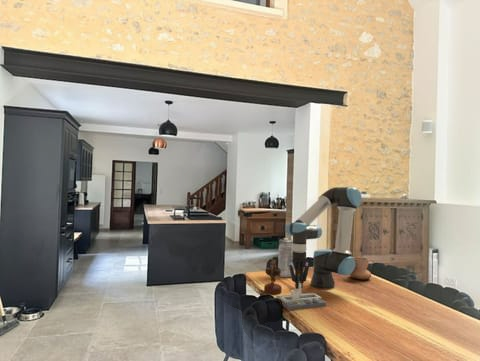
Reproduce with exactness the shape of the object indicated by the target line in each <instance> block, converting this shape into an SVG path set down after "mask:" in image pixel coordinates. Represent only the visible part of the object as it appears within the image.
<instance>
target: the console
mask: <svg viewBox="0 0 480 361" xmlns="http://www.w3.org/2000/svg"><path fill="white" fill-rule="evenodd" d="M276 298H277V299H280V300H281V301H282V303H283V305H282V306H283V307H284V308H285V309H287V310H288V311H296V310H305V309H311V308H312V309H313V308H321V307H326V306H327V301H326V300H323V299H322V297H321V296H320V295H318V294H316V293H315V292H314V293H313V292H304V293H301V295H299V299H291V294H286V295H285V294H284V295H276V296H275V299H276Z"/></svg>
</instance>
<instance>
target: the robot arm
mask: <svg viewBox="0 0 480 361" xmlns="http://www.w3.org/2000/svg"><path fill="white" fill-rule="evenodd" d="M362 199H363V198H362V194H361V191H360V190H359V189H358V188H357V187H351V186H348V187H347V186H346V187H344V186H342V187H339V186H337V187H331V188H330V189H328V190H326V191H324V192H323V193H321V195H320V196H319V197H318V198H317V200H316V201H315V202H314V203H313V204H312V205H311V206H310V207H308V209H307V210H305V212H304V213H302V214H301V215H300V217H298V218H297V219H296V220H295V221H294V222H288V223H287V224H286V226H285V233H286V234H287V235H289V236H292V241H293V248H292V250H293V252H292V258H293V260H292V263H291V264H288V267H289V268H290V273H291V277H290V278H291V281H292V282H293V283H295V284H294V286H295V290H297V291H299V295H301V294H302V289H303V286H304V283H305V282H306V281H307V279H308V273H309V269H310V266H311V263H309V262H308V260H307V252H306V251H307V240H316V239H320V238H322V236H323V235H322V234H323V230H322V227H321V226H320V225H315V224H314V225H311V224H312V223H313V222H314V221H315V220H316V219H317V218H318V217H320V215H321V214H323V213H324V212H325V211H326V210H327V209H330V208H331V207H332V206H337V209H338V211H339V212H338V219H337V221H338V222H337V228H336V238H335V245H334V246H335V247H334V248H333V249H317V250H314V252H313V265H312V266H313V268H312V269H313V272H312V276H311V280H310V286H311V287H312V288H315V289H319V290H331V289H334V288H335V287H336V286H335V284H336V283H335V280H334V277H333V274H338V275H340V276H350V274H351V272H352V271H353V270H354V267H355V261H354V258H353V257H354V256H353V254H352V252H351V242H352V241H351V239H352V232H353V222H354V221H353V220H354V213H355V212H356V211H357V208H358V207H359V206H361V204H362V202H363V200H362ZM293 265H294V269H293Z"/></svg>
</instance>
